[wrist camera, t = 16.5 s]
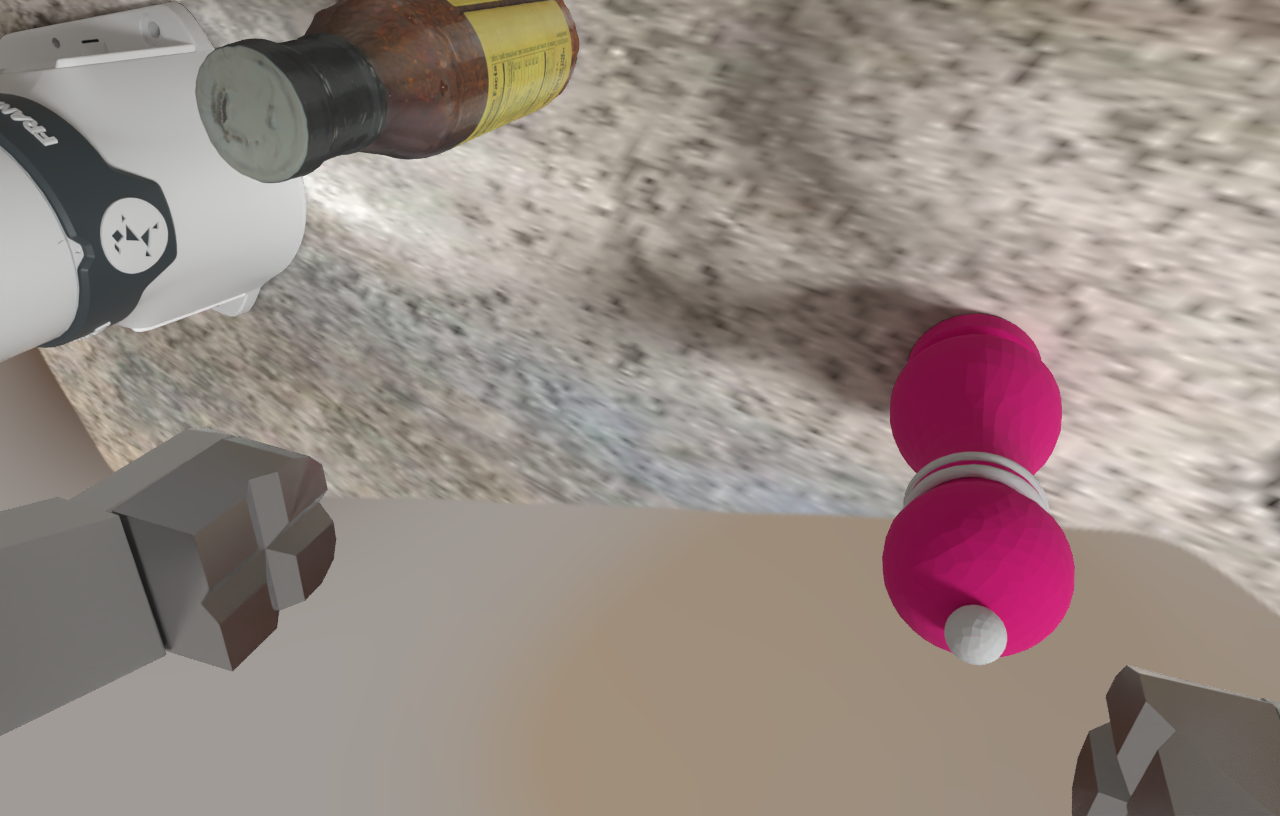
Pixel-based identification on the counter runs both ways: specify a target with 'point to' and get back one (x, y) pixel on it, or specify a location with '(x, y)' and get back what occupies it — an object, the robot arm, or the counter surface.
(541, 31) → the sauce bottle
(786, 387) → the counter surface
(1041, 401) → the pepper mill
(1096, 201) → the counter surface
